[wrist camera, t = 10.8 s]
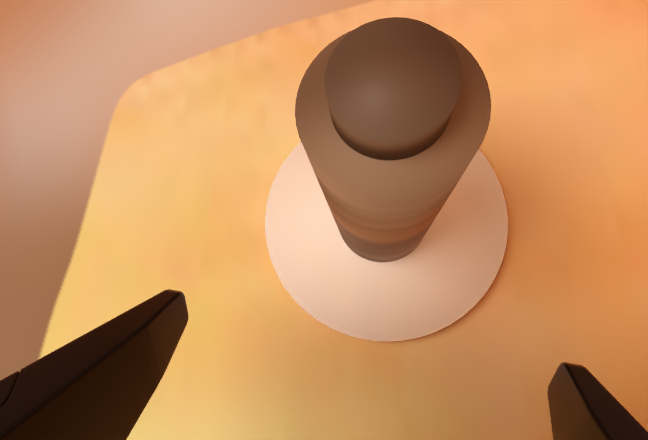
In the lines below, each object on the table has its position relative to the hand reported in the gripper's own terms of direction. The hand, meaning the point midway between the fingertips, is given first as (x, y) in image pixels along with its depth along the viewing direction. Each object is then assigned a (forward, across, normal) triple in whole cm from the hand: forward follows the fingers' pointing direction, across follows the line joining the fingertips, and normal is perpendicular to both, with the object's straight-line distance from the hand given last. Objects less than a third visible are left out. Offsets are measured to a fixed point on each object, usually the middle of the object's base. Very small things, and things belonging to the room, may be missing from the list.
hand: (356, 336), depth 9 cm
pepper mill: (+12, 0, +4) cm, 12 cm away
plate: (+13, 0, +4) cm, 13 cm away
